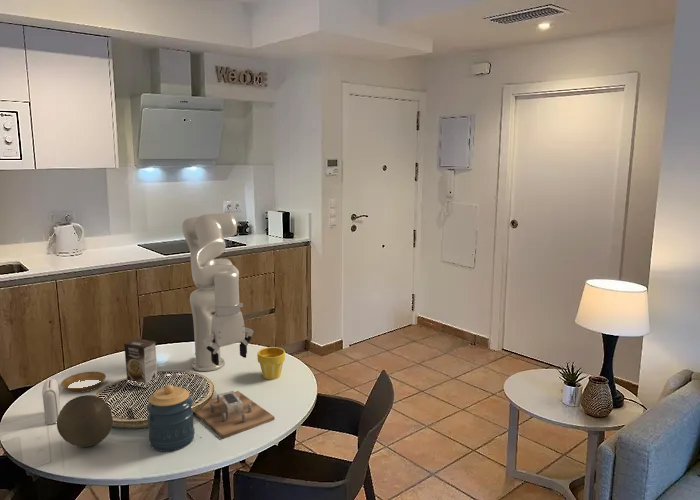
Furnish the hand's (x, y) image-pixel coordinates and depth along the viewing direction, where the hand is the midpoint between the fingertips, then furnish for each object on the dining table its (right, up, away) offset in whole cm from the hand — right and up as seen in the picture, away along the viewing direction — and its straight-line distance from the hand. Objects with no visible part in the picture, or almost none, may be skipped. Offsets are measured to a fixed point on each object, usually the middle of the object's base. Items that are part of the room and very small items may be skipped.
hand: (229, 360), depth 173 cm
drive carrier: (0, -17, +3) cm, 17 cm away
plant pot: (+9, -13, +32) cm, 36 cm away
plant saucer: (-58, -15, +24) cm, 65 cm away
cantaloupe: (-38, -22, -16) cm, 46 cm away
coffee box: (-38, -14, +25) cm, 48 cm away
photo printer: (-57, -19, +1) cm, 60 cm away
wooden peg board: (0, -18, +3) cm, 18 cm away
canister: (-14, -21, -13) cm, 29 cm away
